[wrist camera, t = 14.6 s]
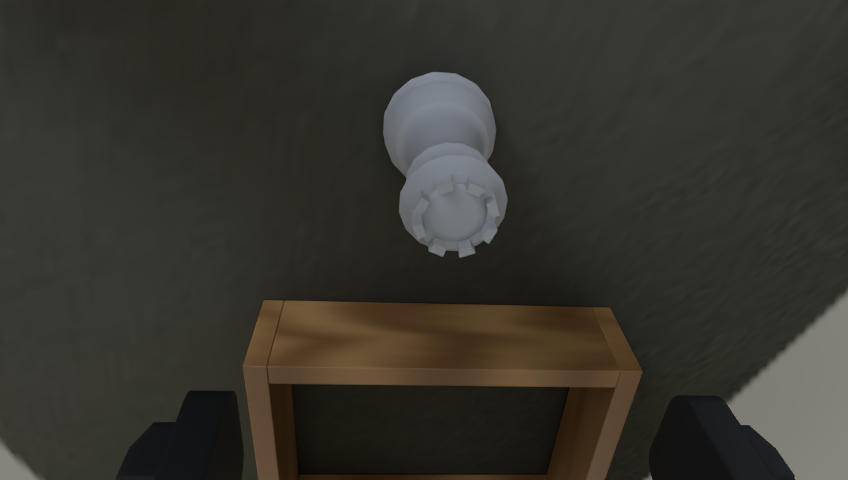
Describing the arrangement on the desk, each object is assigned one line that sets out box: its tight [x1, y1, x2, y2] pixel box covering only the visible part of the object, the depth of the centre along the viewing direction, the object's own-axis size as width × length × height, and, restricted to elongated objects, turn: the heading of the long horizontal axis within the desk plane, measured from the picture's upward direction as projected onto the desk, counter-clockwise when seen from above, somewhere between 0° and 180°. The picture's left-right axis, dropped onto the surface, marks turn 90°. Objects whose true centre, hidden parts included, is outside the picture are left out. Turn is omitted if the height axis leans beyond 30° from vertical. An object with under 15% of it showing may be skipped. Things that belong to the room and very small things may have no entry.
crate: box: [243, 300, 643, 480], centre depth 30 cm, size 17×14×4 cm
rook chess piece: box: [383, 72, 508, 258], centre depth 20 cm, size 4×4×8 cm
